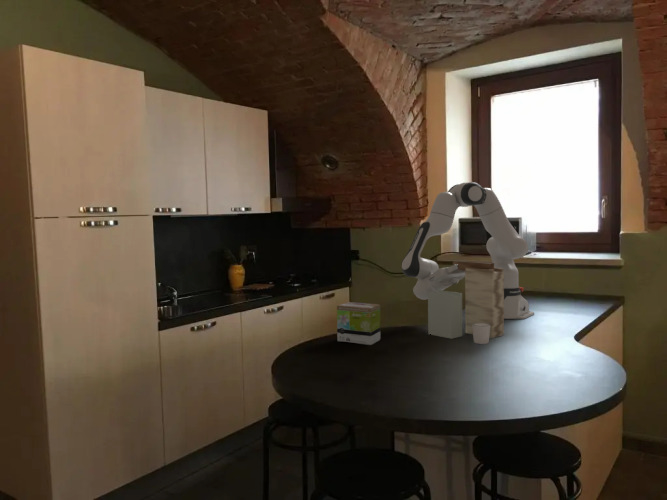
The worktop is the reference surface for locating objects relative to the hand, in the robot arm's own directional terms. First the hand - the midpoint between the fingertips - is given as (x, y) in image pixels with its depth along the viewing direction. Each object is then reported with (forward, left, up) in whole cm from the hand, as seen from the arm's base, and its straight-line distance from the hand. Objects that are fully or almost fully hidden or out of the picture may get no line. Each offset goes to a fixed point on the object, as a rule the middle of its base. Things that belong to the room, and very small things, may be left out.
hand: (464, 264), depth 228 cm
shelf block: (0, +10, -28) cm, 30 cm away
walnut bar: (0, +5, -2) cm, 5 cm away
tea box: (+45, -17, -28) cm, 56 cm away
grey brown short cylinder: (+13, +18, -28) cm, 36 cm away
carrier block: (+13, 0, -28) cm, 31 cm away
